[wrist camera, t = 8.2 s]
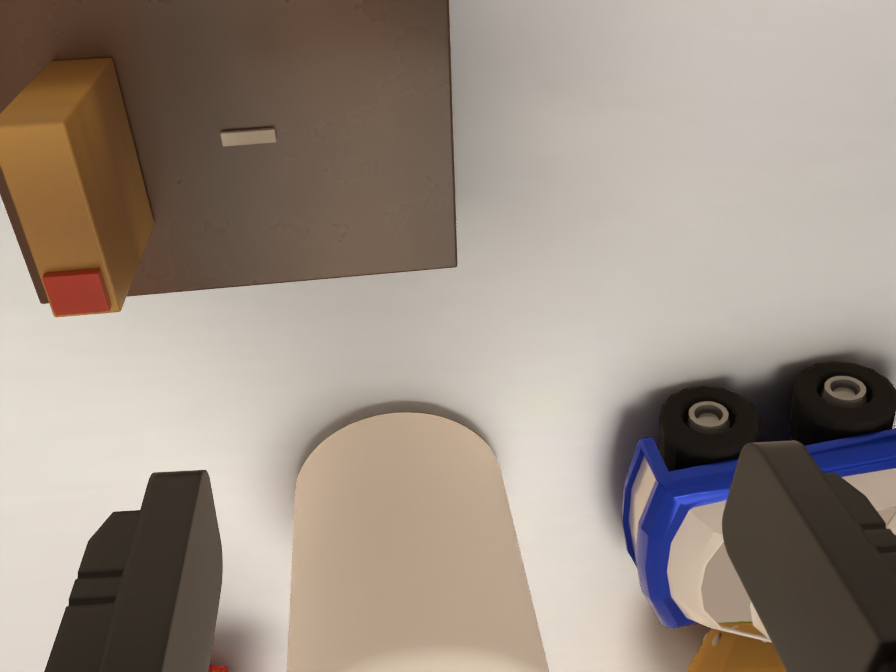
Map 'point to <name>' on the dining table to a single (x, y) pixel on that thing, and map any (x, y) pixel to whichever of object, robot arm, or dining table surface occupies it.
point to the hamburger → (735, 654)
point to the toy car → (710, 476)
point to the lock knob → (77, 184)
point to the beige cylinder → (407, 555)
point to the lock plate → (266, 131)
